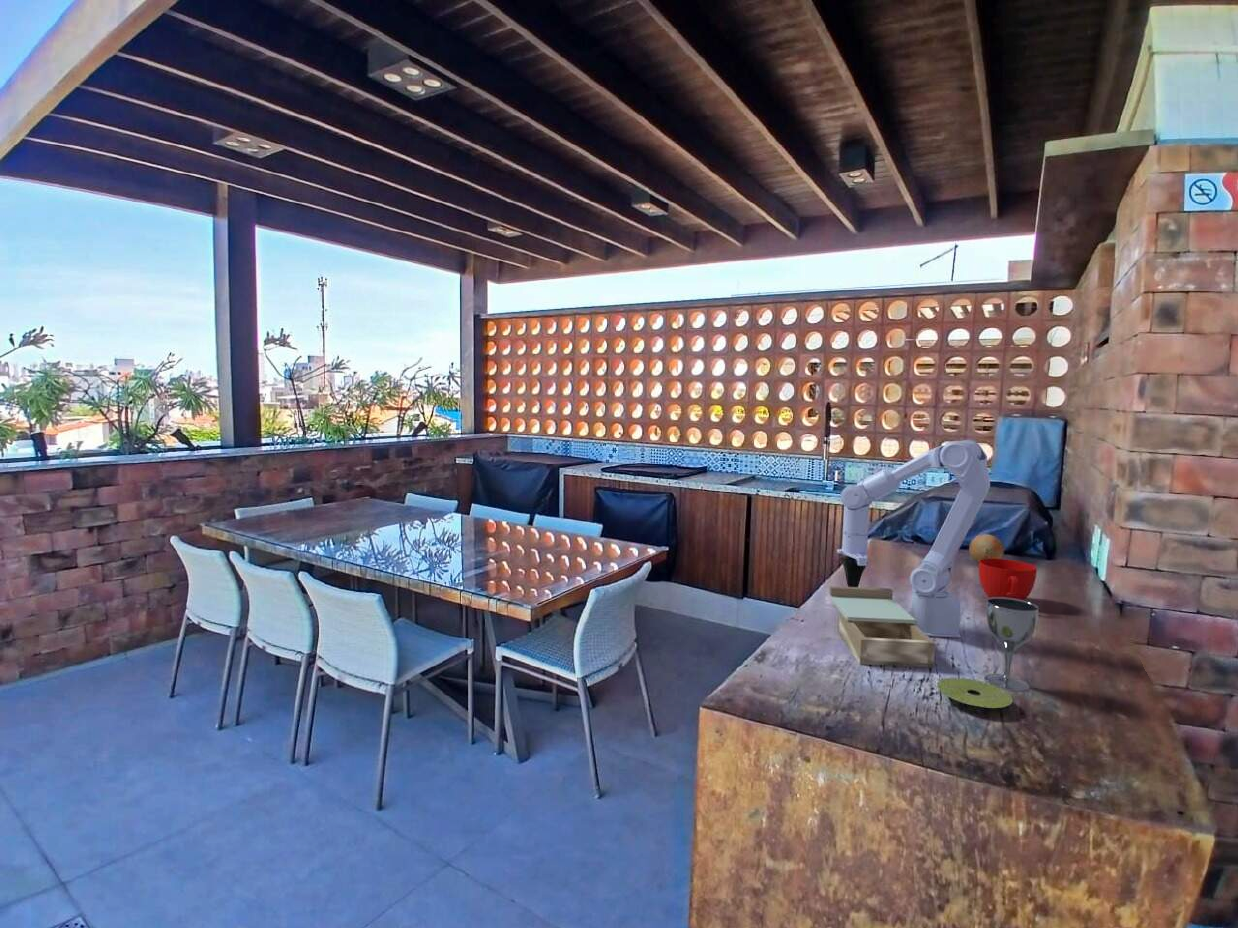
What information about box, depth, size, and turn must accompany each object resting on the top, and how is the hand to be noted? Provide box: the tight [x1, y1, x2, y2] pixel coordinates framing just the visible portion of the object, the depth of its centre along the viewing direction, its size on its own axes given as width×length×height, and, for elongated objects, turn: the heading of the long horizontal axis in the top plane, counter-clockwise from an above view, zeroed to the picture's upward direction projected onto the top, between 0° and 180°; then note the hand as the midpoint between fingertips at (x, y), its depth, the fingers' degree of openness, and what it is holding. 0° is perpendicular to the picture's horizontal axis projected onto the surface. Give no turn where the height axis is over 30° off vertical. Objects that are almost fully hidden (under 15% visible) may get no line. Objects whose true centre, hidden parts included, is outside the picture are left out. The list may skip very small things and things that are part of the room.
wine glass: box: [984, 597, 1039, 692], centre depth 113 cm, size 8×8×15 cm
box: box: [838, 612, 936, 669], centre depth 128 cm, size 14×16×5 cm
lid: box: [828, 585, 916, 624], centre depth 138 cm, size 14×16×3 cm
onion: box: [968, 533, 1004, 563], centre depth 202 cm, size 10×10×10 cm
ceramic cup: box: [978, 558, 1038, 601], centre depth 161 cm, size 13×17×10 cm
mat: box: [936, 677, 1013, 709], centre depth 106 cm, size 11×11×2 cm
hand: (852, 587), depth 152 cm, fingers closed
